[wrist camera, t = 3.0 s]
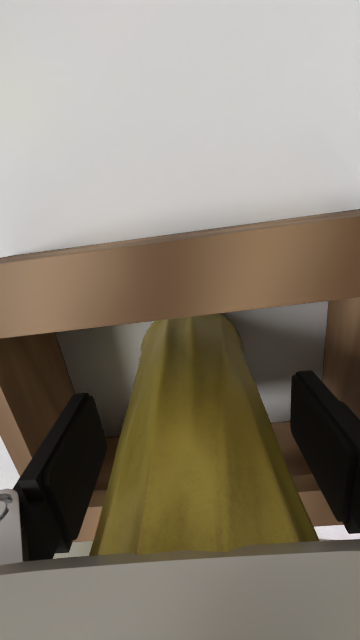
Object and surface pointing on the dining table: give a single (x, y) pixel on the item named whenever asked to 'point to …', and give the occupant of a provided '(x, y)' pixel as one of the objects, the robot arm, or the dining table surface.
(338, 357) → the frame
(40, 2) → the dining table surface
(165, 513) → the vase
